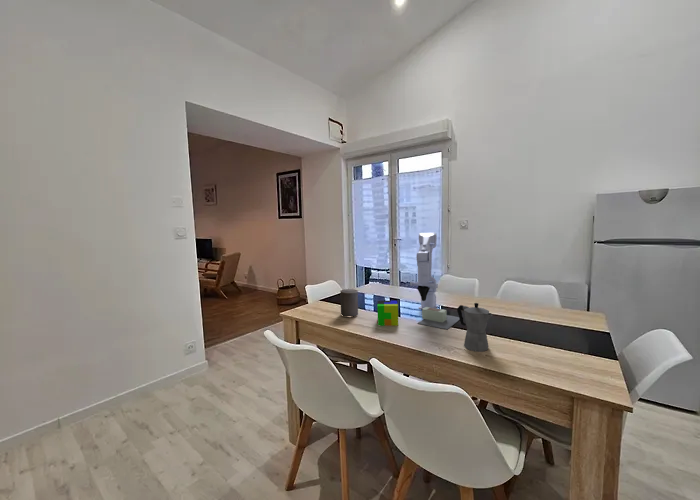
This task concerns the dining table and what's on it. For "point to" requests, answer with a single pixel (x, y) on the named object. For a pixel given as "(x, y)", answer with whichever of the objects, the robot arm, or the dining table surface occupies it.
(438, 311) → the tall block
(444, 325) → the mat
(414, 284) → the robot arm
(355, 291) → the pillar candle
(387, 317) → the puzzle toy
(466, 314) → the coffeepot
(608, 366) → the dining table surface
